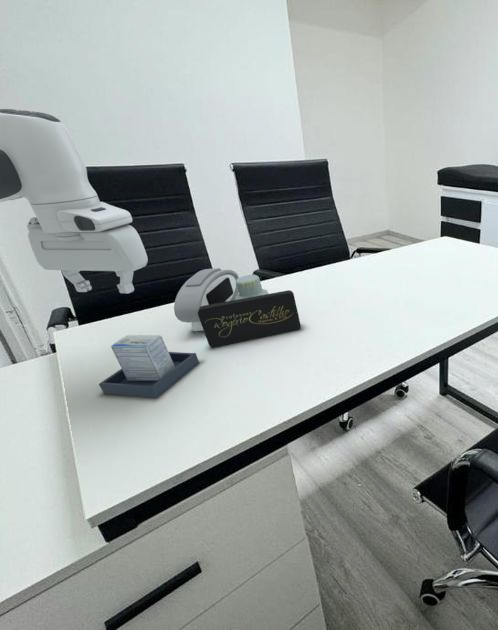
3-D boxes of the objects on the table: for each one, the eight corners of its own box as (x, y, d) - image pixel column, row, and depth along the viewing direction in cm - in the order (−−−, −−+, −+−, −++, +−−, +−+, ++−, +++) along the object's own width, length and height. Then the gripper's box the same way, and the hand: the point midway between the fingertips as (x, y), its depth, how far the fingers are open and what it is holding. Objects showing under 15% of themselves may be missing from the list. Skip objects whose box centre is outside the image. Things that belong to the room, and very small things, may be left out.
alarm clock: (208, 336, 96) (191, 289, 90) (184, 337, 96) (165, 290, 90) (245, 298, 116) (233, 257, 110) (225, 299, 116) (212, 258, 111)
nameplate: (209, 348, 90) (196, 310, 86) (210, 344, 92) (197, 306, 87) (301, 329, 96) (293, 292, 92) (300, 325, 98) (292, 289, 93)
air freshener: (275, 315, 104) (266, 281, 100) (242, 323, 101) (232, 288, 96) (268, 301, 113) (260, 269, 108) (238, 308, 109) (228, 275, 105)
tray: (103, 394, 76) (98, 384, 75) (152, 360, 87) (147, 350, 86) (156, 398, 74) (151, 387, 73) (199, 362, 85) (195, 353, 84)
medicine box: (177, 369, 82) (162, 334, 78) (162, 382, 78) (146, 345, 74) (143, 369, 83) (127, 334, 79) (127, 382, 79) (109, 345, 75)
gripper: (3, 221, 65) (43, 296, 71) (105, 220, 61) (138, 300, 67) (42, 213, 70) (76, 284, 76) (138, 212, 67) (165, 286, 73)
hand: (106, 291), depth 72 cm, fingers open, 8 cm apart
